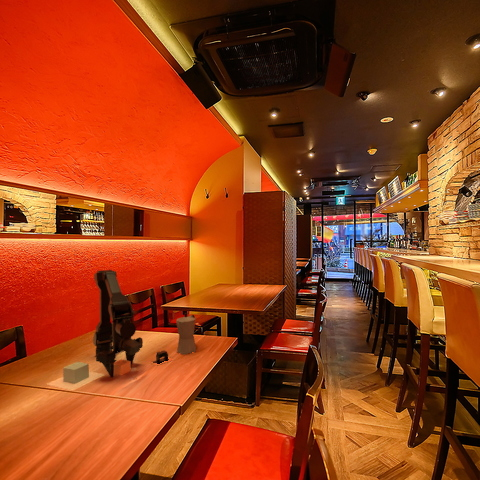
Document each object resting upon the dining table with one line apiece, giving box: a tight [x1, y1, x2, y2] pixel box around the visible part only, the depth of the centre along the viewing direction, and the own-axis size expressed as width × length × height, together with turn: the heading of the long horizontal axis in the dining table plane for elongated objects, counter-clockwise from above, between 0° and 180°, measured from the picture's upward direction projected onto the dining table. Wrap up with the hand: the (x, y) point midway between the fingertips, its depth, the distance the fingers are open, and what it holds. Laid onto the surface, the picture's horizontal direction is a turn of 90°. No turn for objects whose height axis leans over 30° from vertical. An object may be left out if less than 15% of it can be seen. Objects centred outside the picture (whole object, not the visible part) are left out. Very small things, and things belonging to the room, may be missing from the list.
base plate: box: [45, 370, 106, 392], centre depth 115 cm, size 14×14×1 cm
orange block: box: [114, 359, 132, 376], centre depth 121 cm, size 5×5×5 cm
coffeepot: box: [175, 312, 197, 355], centre depth 147 cm, size 15×9×18 cm, turn 162°
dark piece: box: [152, 350, 169, 365], centre depth 134 cm, size 12×7×5 cm, turn 132°
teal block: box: [62, 361, 90, 384], centre depth 115 cm, size 6×6×5 cm
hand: (121, 372), depth 121 cm, fingers open, 9 cm apart
